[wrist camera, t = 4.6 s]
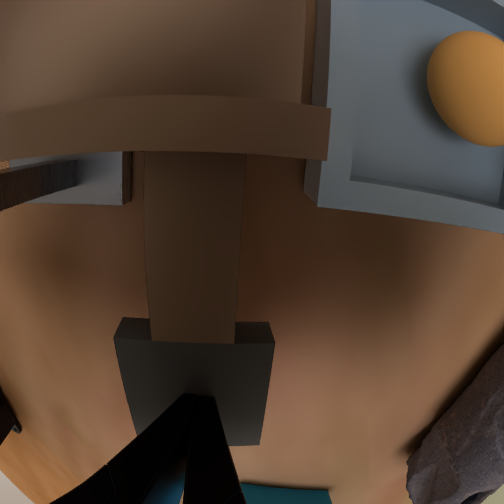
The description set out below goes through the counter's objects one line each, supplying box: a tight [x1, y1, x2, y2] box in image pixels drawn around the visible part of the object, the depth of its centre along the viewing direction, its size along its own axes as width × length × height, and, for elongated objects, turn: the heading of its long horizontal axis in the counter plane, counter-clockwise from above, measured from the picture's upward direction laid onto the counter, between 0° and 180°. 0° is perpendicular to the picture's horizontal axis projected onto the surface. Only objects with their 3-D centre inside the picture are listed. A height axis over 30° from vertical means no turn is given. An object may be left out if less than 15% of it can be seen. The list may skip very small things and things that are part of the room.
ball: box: [427, 31, 504, 147], centre depth 7 cm, size 4×4×4 cm
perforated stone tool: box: [406, 344, 504, 504], centre depth 11 cm, size 15×5×7 cm, turn 162°
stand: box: [0, 151, 131, 211], centre depth 7 cm, size 6×11×6 cm, turn 176°
